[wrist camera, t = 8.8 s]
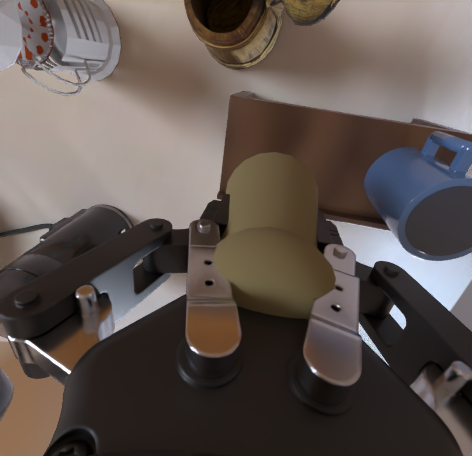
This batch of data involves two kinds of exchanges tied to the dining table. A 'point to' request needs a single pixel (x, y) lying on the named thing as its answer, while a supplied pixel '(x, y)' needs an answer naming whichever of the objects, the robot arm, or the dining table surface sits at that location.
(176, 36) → the dining table surface
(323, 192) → the brown wooden shelf
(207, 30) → the wooden mug
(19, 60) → the french press
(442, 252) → the cup
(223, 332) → the robot arm
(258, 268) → the olive green peg figure
